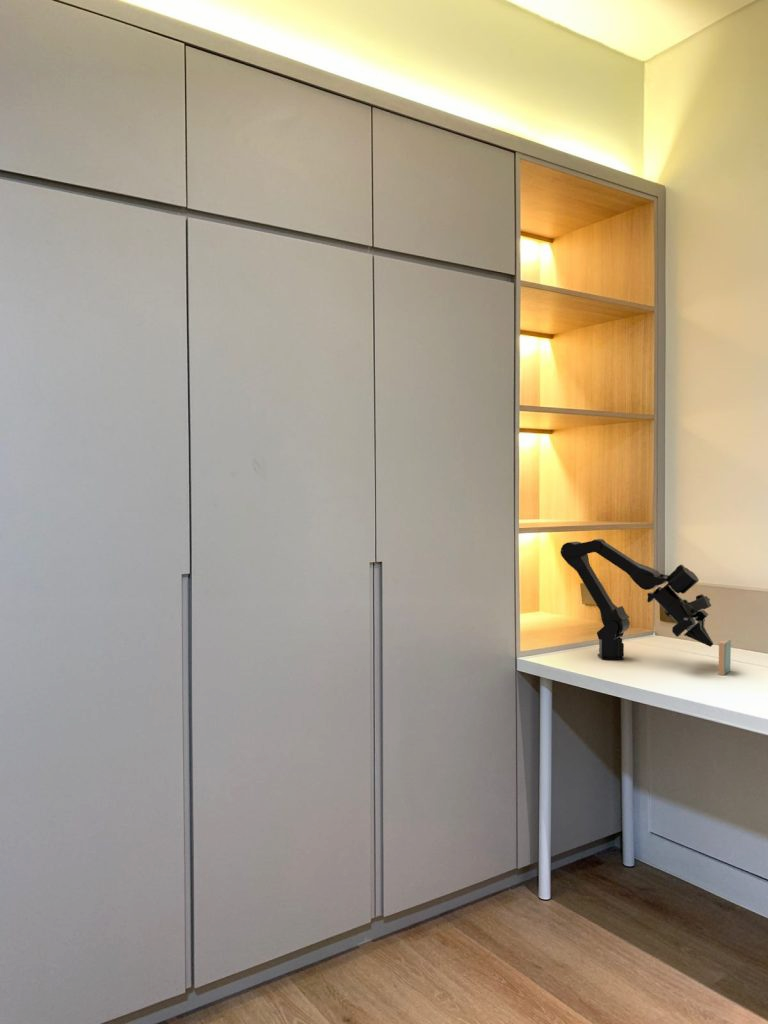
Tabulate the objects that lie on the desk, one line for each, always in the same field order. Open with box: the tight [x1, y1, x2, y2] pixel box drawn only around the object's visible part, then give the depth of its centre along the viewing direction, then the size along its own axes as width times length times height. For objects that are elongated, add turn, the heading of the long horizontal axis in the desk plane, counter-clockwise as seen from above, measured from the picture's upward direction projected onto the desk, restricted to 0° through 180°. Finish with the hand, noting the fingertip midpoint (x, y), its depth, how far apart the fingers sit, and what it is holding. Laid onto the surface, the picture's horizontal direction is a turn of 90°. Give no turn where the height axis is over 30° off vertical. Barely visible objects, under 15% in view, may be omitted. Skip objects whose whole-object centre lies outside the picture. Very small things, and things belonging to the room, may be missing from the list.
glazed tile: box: [718, 638, 732, 676], centre depth 220 cm, size 2×7×9 cm, turn 144°
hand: (712, 645), depth 222 cm, fingers closed
